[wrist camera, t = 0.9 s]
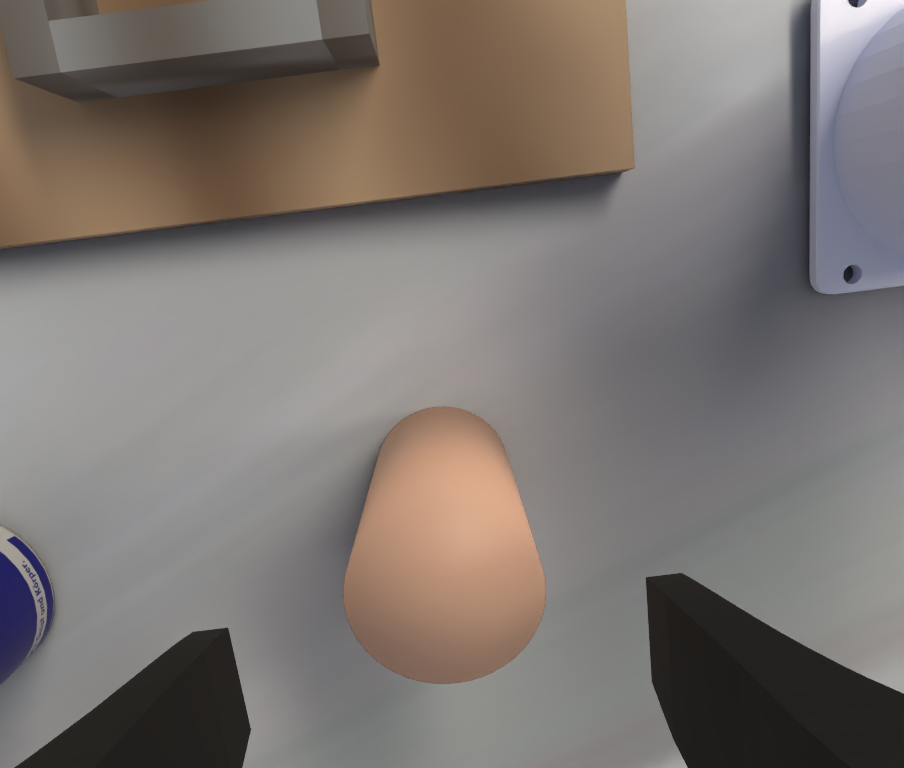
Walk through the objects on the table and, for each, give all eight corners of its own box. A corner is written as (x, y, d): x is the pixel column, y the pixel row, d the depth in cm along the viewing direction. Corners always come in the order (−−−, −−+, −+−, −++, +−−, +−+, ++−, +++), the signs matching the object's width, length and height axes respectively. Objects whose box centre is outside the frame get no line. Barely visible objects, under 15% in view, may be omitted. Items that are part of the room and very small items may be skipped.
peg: (501, 399, 19) (536, 489, 12) (514, 523, 20) (554, 671, 13) (367, 415, 19) (328, 514, 12) (386, 538, 20) (360, 694, 13)
